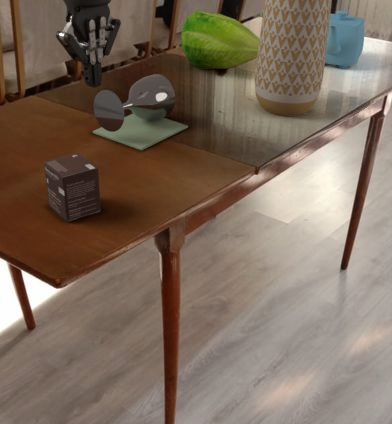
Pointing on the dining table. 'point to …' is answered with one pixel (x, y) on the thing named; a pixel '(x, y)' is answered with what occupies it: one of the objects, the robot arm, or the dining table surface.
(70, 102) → the dining table surface
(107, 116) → the wine glass
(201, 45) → the lettuce
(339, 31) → the teapot
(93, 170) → the box
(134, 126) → the mat
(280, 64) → the vase
